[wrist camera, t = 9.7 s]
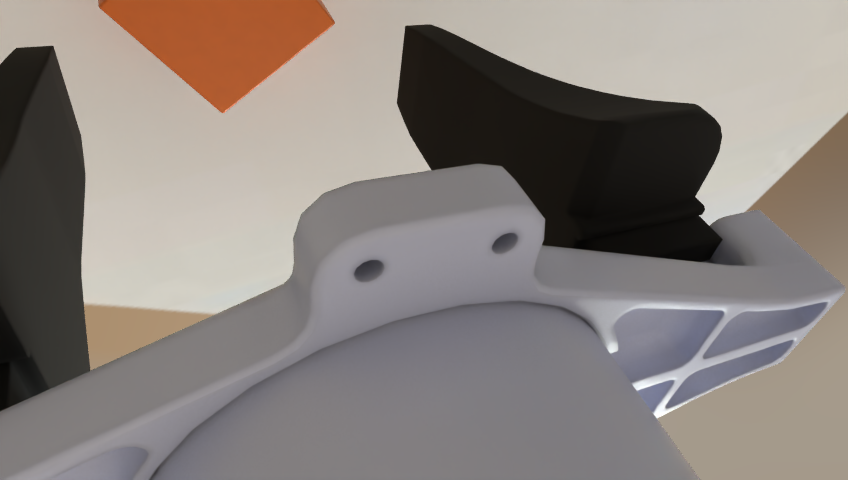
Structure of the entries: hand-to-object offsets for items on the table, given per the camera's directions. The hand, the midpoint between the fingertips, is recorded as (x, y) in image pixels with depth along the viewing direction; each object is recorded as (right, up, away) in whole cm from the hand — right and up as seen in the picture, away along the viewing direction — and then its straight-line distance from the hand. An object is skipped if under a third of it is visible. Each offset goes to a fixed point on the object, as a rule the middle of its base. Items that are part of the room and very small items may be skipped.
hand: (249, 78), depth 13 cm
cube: (-3, +5, +4) cm, 7 cm away
